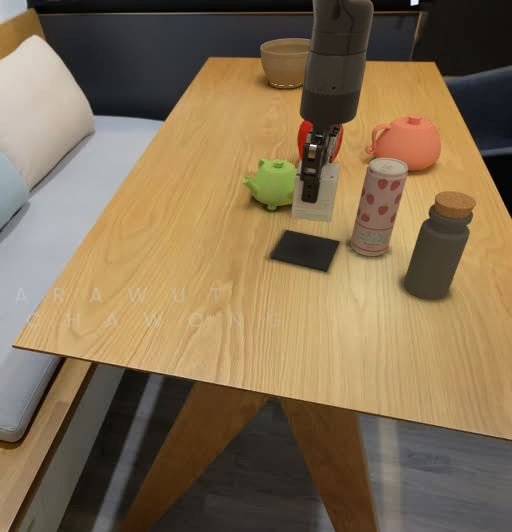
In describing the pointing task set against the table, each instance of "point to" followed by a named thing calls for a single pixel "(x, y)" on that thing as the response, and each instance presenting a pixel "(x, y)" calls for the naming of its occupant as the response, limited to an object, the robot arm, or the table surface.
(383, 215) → the beverage can
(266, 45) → the planter bowl
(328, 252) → the coaster
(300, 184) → the white cardboard box
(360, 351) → the table surface
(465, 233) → the bottle
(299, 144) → the apple
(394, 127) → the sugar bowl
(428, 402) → the table surface
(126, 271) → the table surface
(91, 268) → the table surface
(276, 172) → the teapot
